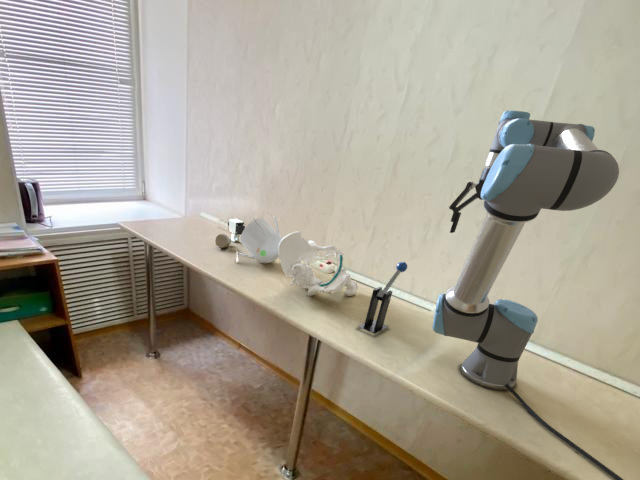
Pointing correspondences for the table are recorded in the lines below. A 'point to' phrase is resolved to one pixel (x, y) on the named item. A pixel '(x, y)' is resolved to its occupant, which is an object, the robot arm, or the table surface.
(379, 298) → the tap lever
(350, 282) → the pelvis
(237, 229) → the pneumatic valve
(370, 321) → the lever stand
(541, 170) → the robot arm
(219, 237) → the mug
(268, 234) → the satellite
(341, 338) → the table surface
